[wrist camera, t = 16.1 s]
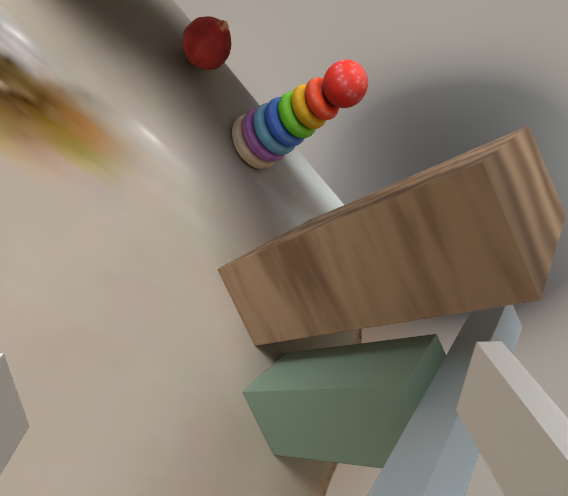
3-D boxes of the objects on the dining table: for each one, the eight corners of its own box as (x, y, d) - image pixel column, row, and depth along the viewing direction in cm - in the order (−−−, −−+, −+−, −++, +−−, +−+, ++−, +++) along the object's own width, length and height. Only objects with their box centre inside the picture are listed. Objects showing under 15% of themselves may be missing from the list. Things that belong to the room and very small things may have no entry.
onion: (185, 33, 53) (219, -9, 48) (216, 69, 55) (253, 32, 50) (162, 52, 50) (197, 9, 44) (197, 89, 52) (234, 52, 46)
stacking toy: (226, 156, 52) (338, 76, 40) (231, 108, 55) (336, 19, 43) (272, 180, 57) (384, 115, 44) (274, 134, 60) (379, 61, 48)
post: (273, 454, 45) (444, 476, 31) (242, 391, 44) (403, 386, 31) (312, 409, 51) (470, 410, 37) (285, 353, 50) (436, 333, 36)
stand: (255, 345, 47) (540, 300, 27) (217, 269, 46) (482, 162, 26) (339, 278, 62) (565, 215, 41) (311, 219, 61) (528, 125, 41)
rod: (370, 587, 23) (426, 608, 21) (344, 535, 23) (399, 550, 20) (488, 331, 45) (522, 326, 43) (475, 303, 45) (509, 297, 42)
